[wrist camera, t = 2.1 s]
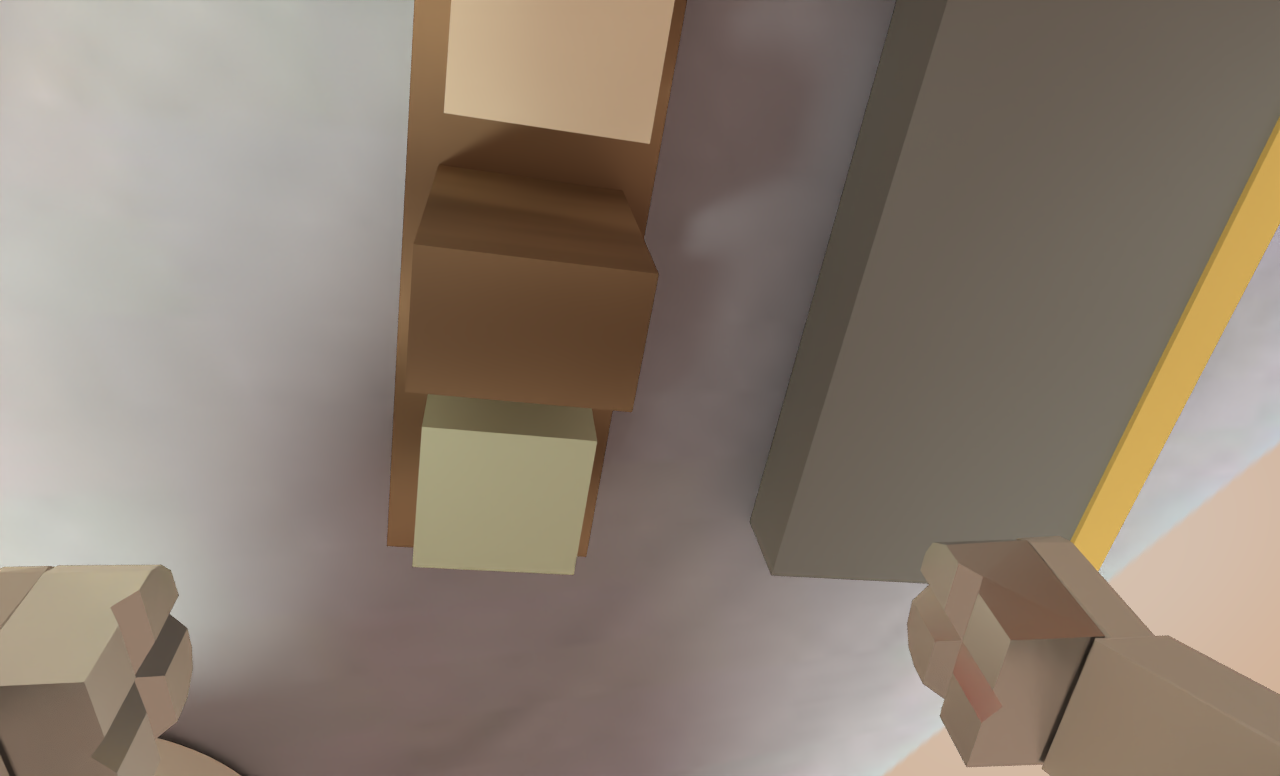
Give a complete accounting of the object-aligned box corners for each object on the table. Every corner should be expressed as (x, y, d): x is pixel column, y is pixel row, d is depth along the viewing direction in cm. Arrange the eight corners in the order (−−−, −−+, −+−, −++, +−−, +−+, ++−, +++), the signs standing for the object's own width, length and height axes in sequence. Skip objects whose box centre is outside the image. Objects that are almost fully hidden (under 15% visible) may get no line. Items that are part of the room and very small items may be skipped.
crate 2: (564, 486, 25) (573, 575, 22) (426, 476, 24) (412, 566, 21) (584, 365, 23) (597, 440, 20) (435, 351, 23) (421, 427, 19)
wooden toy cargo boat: (577, 484, 30) (604, 709, 21) (402, 471, 29) (354, 705, 20) (689, -183, 21) (813, -266, 12) (442, -241, 20) (389, -376, 11)
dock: (1038, 540, 34) (1085, 595, 31) (749, 521, 31) (773, 579, 29) (1333, -86, 24) (1441, -88, 21) (947, -181, 22) (1011, -198, 19)
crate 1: (626, 108, 20) (650, 143, 17) (455, 80, 20) (443, 113, 16) (656, -81, 19) (689, -84, 15) (470, -118, 18) (460, -130, 14)
